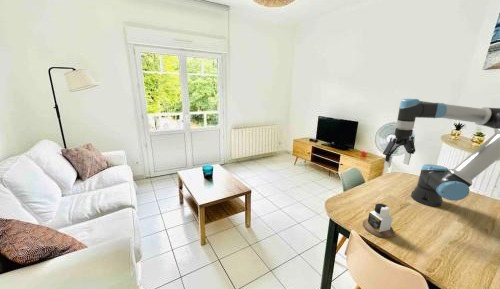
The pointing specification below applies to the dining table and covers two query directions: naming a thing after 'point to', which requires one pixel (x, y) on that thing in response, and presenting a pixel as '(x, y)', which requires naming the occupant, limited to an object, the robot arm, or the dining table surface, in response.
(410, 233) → the dining table surface
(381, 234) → the walnut coaster
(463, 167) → the robot arm
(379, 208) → the medicine bottle
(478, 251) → the dining table surface
